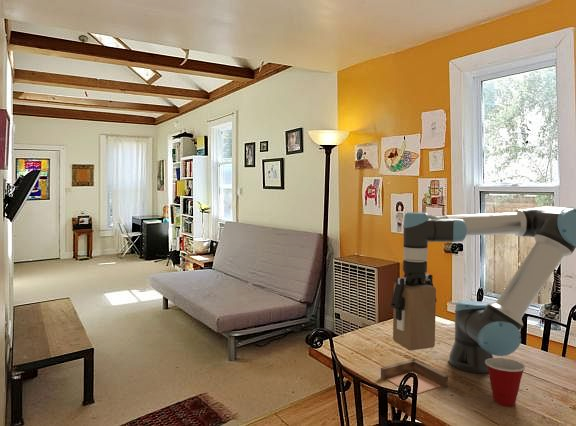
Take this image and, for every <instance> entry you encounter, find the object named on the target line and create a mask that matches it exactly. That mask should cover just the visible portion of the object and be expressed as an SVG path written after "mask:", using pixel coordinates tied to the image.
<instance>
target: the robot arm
mask: <svg viewBox="0 0 576 426" xmlns="http://www.w3.org/2000/svg"><path fill="white" fill-rule="evenodd" d="M402 227H403V246H402V247H403V248H402V253H403V254H402V257H403V260H402V271H403V272H404V275H403V277H400V276H399V277H396V278H395V283H396V287H395V291H394V290H393V295H392V299H391V303H390V308H392V309H393V308H394V309H396V319H397V329H399V330H402V331H405V310H403V308H404V306H405V298H404V297H403V296H402V293H403V290H404V284H405V285H408V286H415V285H425V284H428V285H431V286H433V287H435V286H434V284H433V274H430V273H427V272H428V261H427V260H428V247H429V246H428V242H429V243H433V242H434V243H435V242H438V243H440V242H441V243H442V242H443V243H445V242H446V243H448V242H449V243H456V242H460V243H461V242H463V241H464V240H465V239H466V237H468V236H469V237H470V236H486V235H487V236H489V235H515V236H516V237H531V238H534V240H535V243H534V245H533V247H532V248H531V250H530V251H529V252H528V254H527V255H526V257H525V258H524V260H523V261H522V263H521V265H519V267H518V269H516V272H515V273H514V275H513V276H512V277H511V279H510V281H509V282H508V284H507V285H506V287H505V288H504V290H503V291H502V292H501V294H500V296H499V297H498V298H497V300H496V301H495V302H491V303H488V302H484V301H479V300H478V301H476V300H461V301H458V302H457V303H456V304H455V307H454V309H455V310H454V342H453V344H452V348H451V350H450V353H449V357H448V358H449V360H448V361H449V364H451V366H452V367H454V368H456V369H458V370H461V371H463V372H466V373H467V372H468V373H473V374H487V373H488V374H489V372H488V368H487V365H486V363H485V360H486V359H489V358H494V356H495V357H506V356H509V355H511V354H513V353H514V352H516V351H517V349H518V348H519V347H520V345H521V344H522V343H521V342H522V337H521V336H522V334H521V332H520V331H521V330H522V328H523V326H524V323H523V320H522V319H523V317H524V315H525V314H526V313H527V310H528V309H529V308H530V306H531V305H532V303H533V301H534V300H535V299H536V298H537V296H538V294H539V293H540V291H541V289H542V288H544V286H545V284H546V283H547V282H548V280H549V278H550V277H551V276H552V274H553V272H554V271H555V269H556V267H557V266H558V265H559V264H560V262H561V260H562V259H563V257H567V256H571V255H572V254H573V252H574V251H576V207H572V206H570V207H569V206H568V207H564V206H563V207H562V206H549V205H548V206H539V207H531V208H524V209H523V208H522V209H515V210H513V212H501V213H500V212H495V213H493V212H492V213H475V214H453V215H451V214H449V215H432V214H431V215H430V214H428V213H427V212H421V211H420V212H417V211H416V212H415V211H414V212H413V211H411V212H406V213H405V214H404V217H403V225H402ZM436 302H437V299H436Z"/></svg>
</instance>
